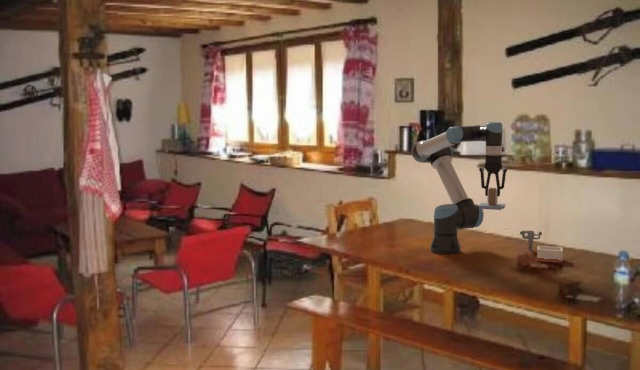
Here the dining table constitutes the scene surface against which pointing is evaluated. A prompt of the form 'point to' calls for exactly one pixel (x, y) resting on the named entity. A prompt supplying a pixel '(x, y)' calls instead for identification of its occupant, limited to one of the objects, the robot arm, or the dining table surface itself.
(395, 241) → the dining table surface
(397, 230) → the dining table surface
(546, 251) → the box
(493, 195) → the lid
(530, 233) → the mechanical component
